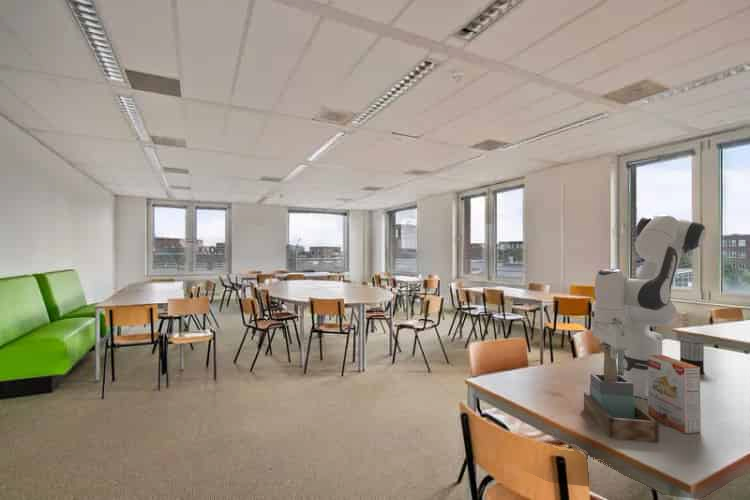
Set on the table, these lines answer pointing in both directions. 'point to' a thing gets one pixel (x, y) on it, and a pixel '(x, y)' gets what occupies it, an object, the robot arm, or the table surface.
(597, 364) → the table surface
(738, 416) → the table surface
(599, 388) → the box
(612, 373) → the handle
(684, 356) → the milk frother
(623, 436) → the bay
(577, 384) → the table surface
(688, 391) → the cracker box
